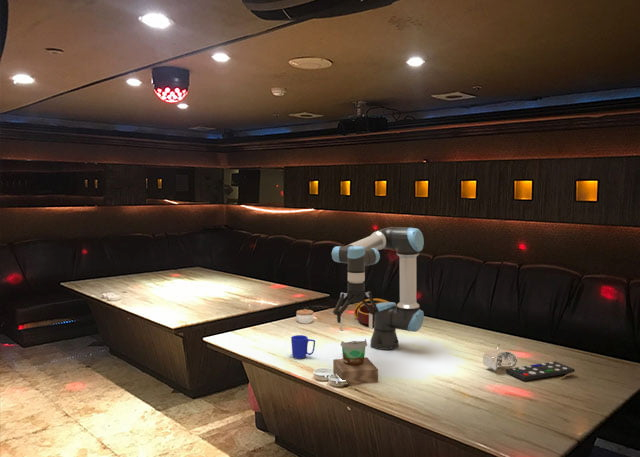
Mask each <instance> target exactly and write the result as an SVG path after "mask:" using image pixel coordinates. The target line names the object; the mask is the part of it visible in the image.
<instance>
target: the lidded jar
mask: <svg viewBox="0 0 640 457" xmlns="http://www.w3.org/2000/svg"><path fill="white" fill-rule="evenodd" d="M313 319H314V311H313V310H312V309H306V308H304V309H299V310H296V320H297V322H298V323H299V324H303V325H307V324H308V325H309V324H311V323H312V322H313Z"/></svg>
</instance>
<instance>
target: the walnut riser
mask: <svg viewBox="0 0 640 457" xmlns="http://www.w3.org/2000/svg"><path fill="white" fill-rule="evenodd" d="M332 367H333V368H332V372H333V374H334V375H335V374H337V375H338V376H339V377H340V378H341V379H342V380H346V381H347V383H348V385H347V386H353V385H361V384H375V383H377V384H378V383H379V369H378V367H377V366H376V365H375V364H374V363H373V362H372V361H371V360H370V359H369V358H368V357H367V356H366V357H365V356H364V363H363V364H361V365H356V366H355V365H347V364H345V363H343V358H334V359H333V366H332Z"/></svg>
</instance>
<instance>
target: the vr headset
mask: <svg viewBox="0 0 640 457" xmlns="http://www.w3.org/2000/svg"><path fill="white" fill-rule="evenodd" d="M500 344H501V343H498V344H497V346H496V349H493V350H489V351H486V352H484V354H483V355H482V364H483V365H484V366H486V367H487V368H490V369H491V370H493V371H494V372H496V371H497V369H498V366H499V367H502V368H506V369H510V368H515V366H516V365H517V363H518V357H517V355H516V353H515V352H513V351H510V350H504V349H501V348H500Z"/></svg>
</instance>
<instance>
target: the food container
mask: <svg viewBox="0 0 640 457" xmlns="http://www.w3.org/2000/svg"><path fill="white" fill-rule="evenodd" d="M340 346H341V349H342V350H341V352H342V359H343V363H345V364H347V365H355V366H356V365H361V364H363V363H364V357H365V354H366V347H367V346H368V342H367V339H366V338H365V339H364V340H362V341H361V340H359V341H358V340H352V341H347V342H345V341H342V340H341V342H340Z"/></svg>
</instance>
